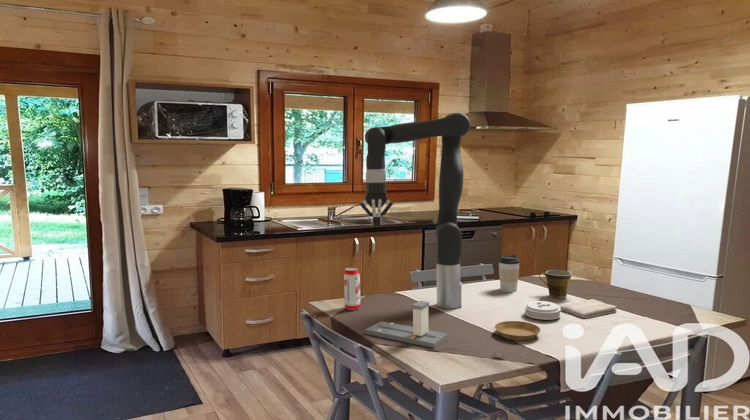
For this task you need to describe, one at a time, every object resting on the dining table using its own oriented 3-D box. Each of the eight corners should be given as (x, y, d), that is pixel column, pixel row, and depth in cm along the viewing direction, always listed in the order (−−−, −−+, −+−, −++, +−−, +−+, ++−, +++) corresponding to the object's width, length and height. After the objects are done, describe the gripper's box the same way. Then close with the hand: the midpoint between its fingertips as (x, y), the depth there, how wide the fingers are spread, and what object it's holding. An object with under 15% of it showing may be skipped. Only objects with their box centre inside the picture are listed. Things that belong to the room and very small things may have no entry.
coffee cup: (507, 293, 223) (508, 259, 222) (493, 289, 231) (493, 255, 230) (523, 290, 228) (524, 256, 226) (509, 286, 236) (509, 253, 234)
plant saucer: (490, 327, 183) (490, 320, 183) (533, 327, 183) (533, 320, 182) (499, 343, 168) (499, 335, 168) (545, 343, 168) (546, 335, 168)
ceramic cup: (573, 295, 220) (573, 271, 219) (567, 301, 212) (568, 276, 210) (541, 291, 227) (542, 268, 226) (535, 296, 218) (535, 273, 217)
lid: (526, 321, 189) (526, 308, 188) (523, 310, 201) (523, 298, 201) (563, 323, 187) (563, 309, 186) (557, 312, 199) (557, 299, 198)
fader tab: (412, 334, 171) (412, 304, 170) (420, 329, 176) (419, 300, 175) (421, 336, 170) (421, 306, 168) (429, 331, 174) (429, 302, 173)
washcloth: (618, 312, 197) (619, 304, 197) (584, 320, 189) (584, 312, 189) (592, 304, 208) (593, 296, 208) (559, 311, 200) (559, 303, 200)
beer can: (361, 306, 210) (360, 267, 208) (359, 311, 204) (358, 270, 202) (345, 306, 211) (344, 266, 209) (343, 310, 204) (342, 270, 203)
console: (365, 333, 179) (365, 328, 179) (381, 325, 187) (381, 319, 187) (434, 348, 165) (434, 342, 165) (448, 338, 173) (447, 332, 173)
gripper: (358, 182, 194) (359, 228, 196) (394, 181, 194) (394, 227, 196) (358, 180, 201) (359, 225, 203) (392, 180, 202) (393, 224, 204)
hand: (376, 226), depth 200 cm, fingers closed
